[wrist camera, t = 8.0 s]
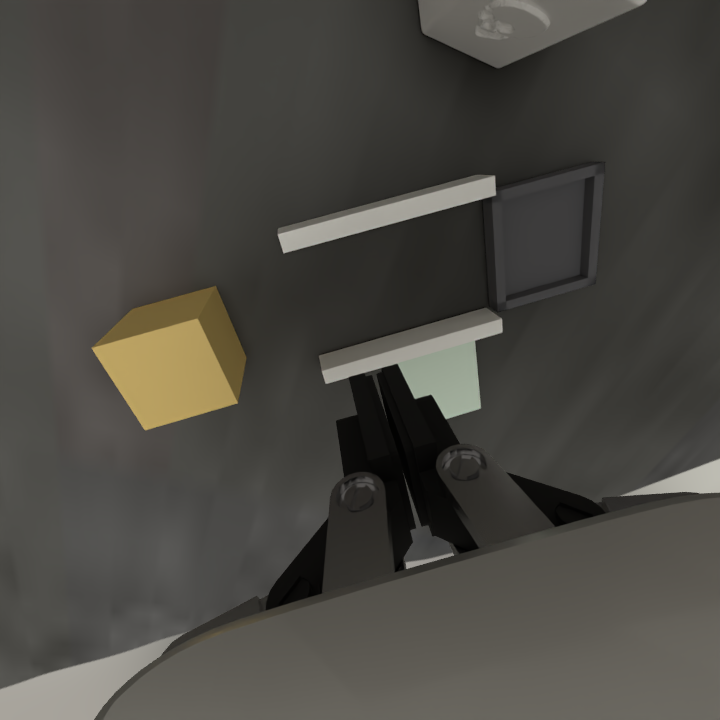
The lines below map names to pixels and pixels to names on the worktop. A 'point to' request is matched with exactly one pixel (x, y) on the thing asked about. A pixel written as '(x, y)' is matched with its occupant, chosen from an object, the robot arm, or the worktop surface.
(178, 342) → the block
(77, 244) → the worktop surface
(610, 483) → the worktop surface
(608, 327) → the worktop surface
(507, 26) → the jar
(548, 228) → the tray
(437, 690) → the robot arm
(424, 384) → the coaster
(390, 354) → the channel
